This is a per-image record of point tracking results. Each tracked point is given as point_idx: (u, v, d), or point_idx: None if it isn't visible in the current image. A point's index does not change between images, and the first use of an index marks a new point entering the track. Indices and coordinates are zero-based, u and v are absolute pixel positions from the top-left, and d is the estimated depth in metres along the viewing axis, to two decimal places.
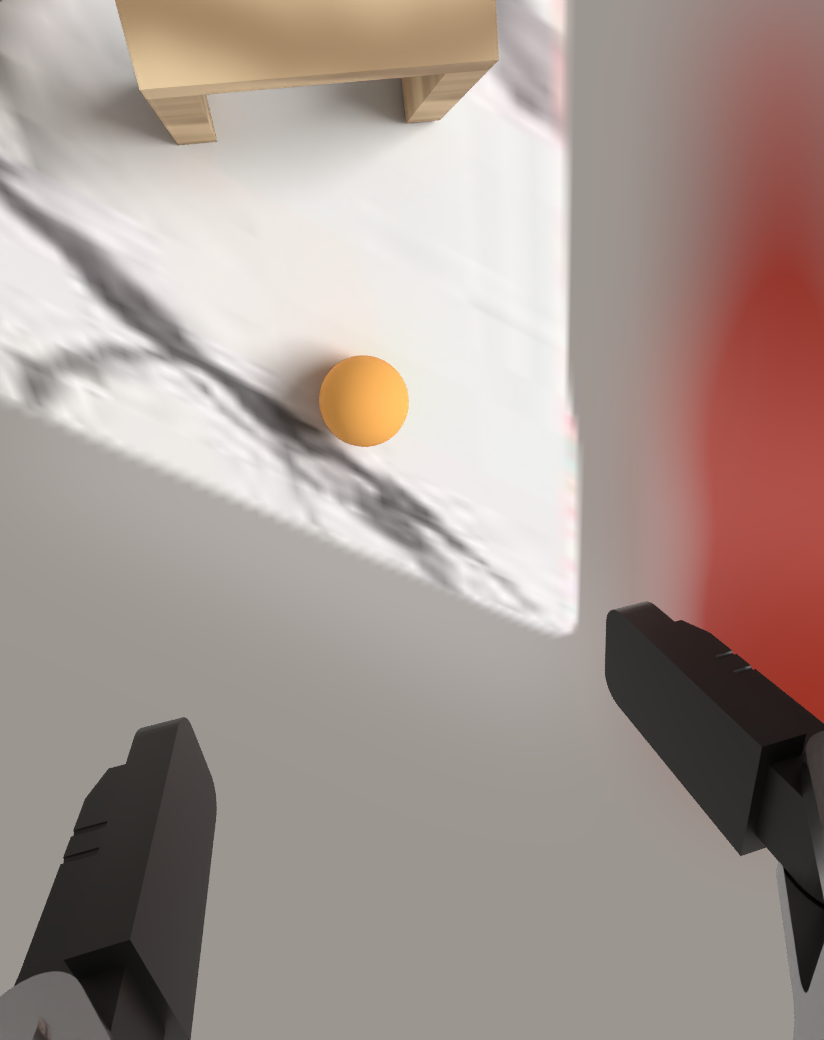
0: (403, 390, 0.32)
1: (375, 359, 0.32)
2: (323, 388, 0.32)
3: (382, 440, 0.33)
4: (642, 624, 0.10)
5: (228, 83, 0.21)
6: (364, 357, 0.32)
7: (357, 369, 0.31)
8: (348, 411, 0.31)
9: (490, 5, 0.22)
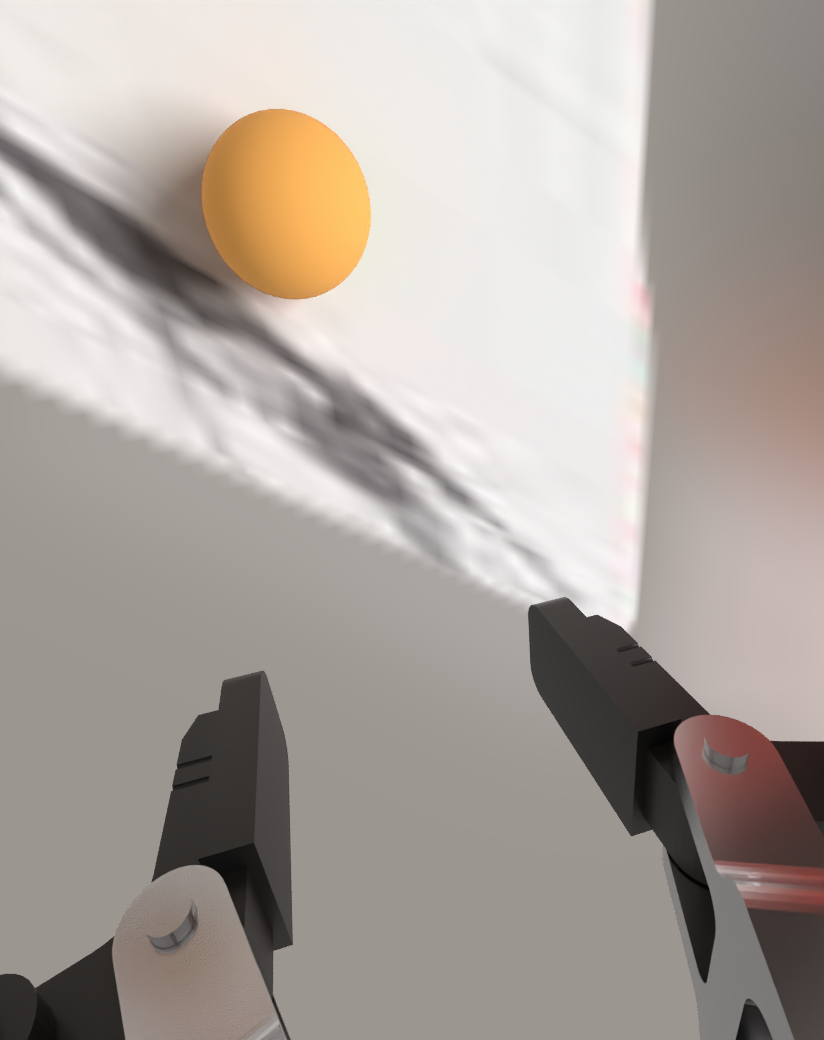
0: (358, 176, 0.17)
1: (304, 114, 0.17)
2: (204, 169, 0.17)
3: (321, 278, 0.18)
4: (555, 618, 0.10)
5: None
6: (282, 110, 0.17)
7: (265, 118, 0.16)
8: (246, 200, 0.16)
9: None
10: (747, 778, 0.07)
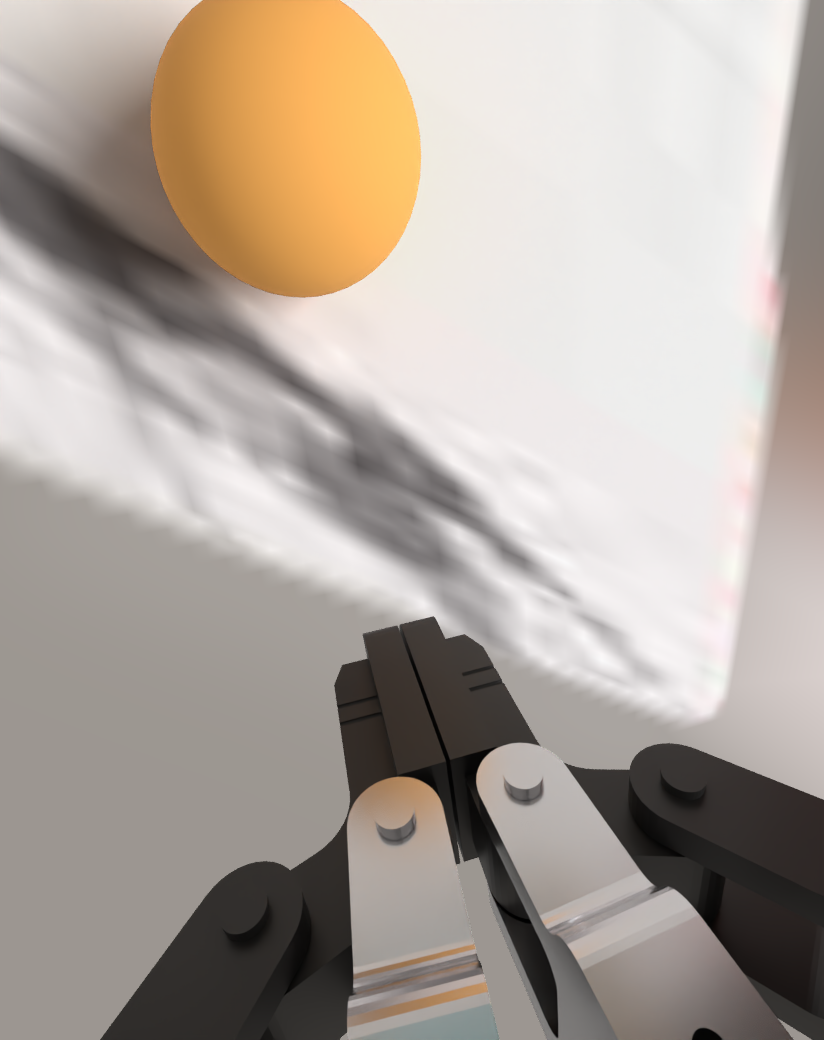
0: (406, 97, 0.10)
1: None
2: (154, 82, 0.10)
3: (344, 264, 0.11)
4: (415, 639, 0.10)
5: None
6: None
7: None
8: (220, 128, 0.09)
9: None
10: (533, 811, 0.07)
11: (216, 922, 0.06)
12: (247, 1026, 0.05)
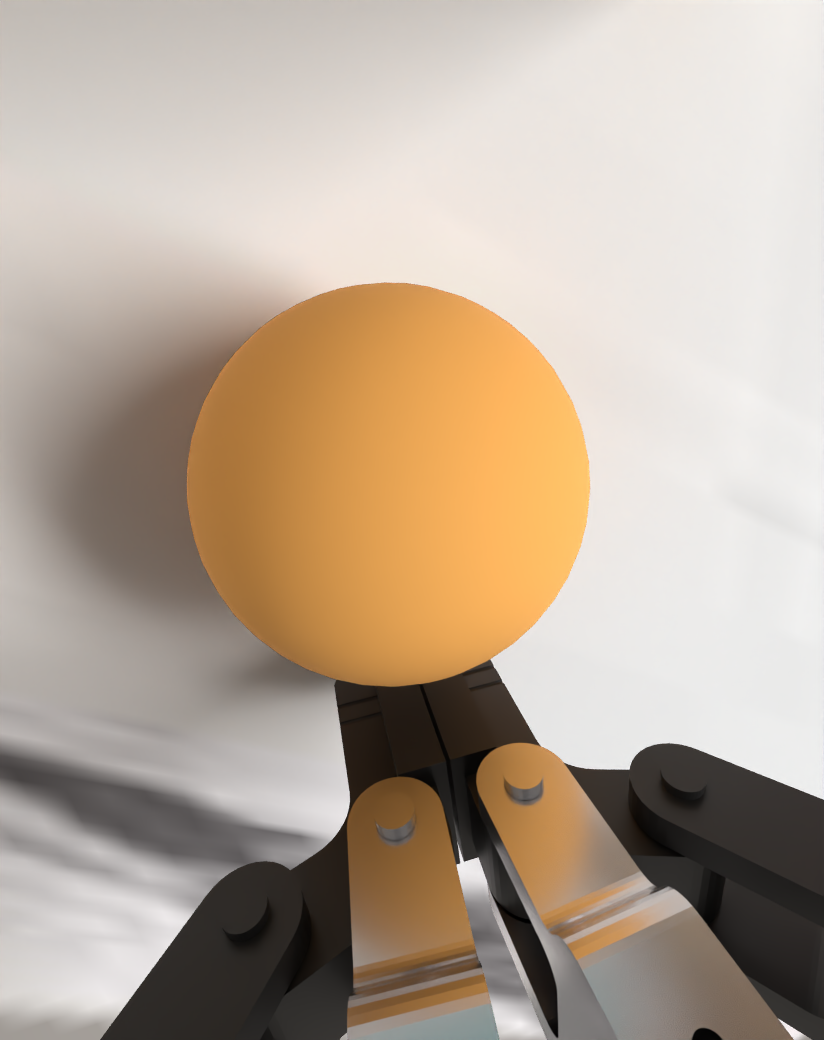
0: None
1: None
2: None
3: (408, 285, 0.07)
4: None
5: None
6: None
7: None
8: None
9: None
10: (533, 810, 0.07)
11: (216, 922, 0.06)
12: (247, 1027, 0.05)
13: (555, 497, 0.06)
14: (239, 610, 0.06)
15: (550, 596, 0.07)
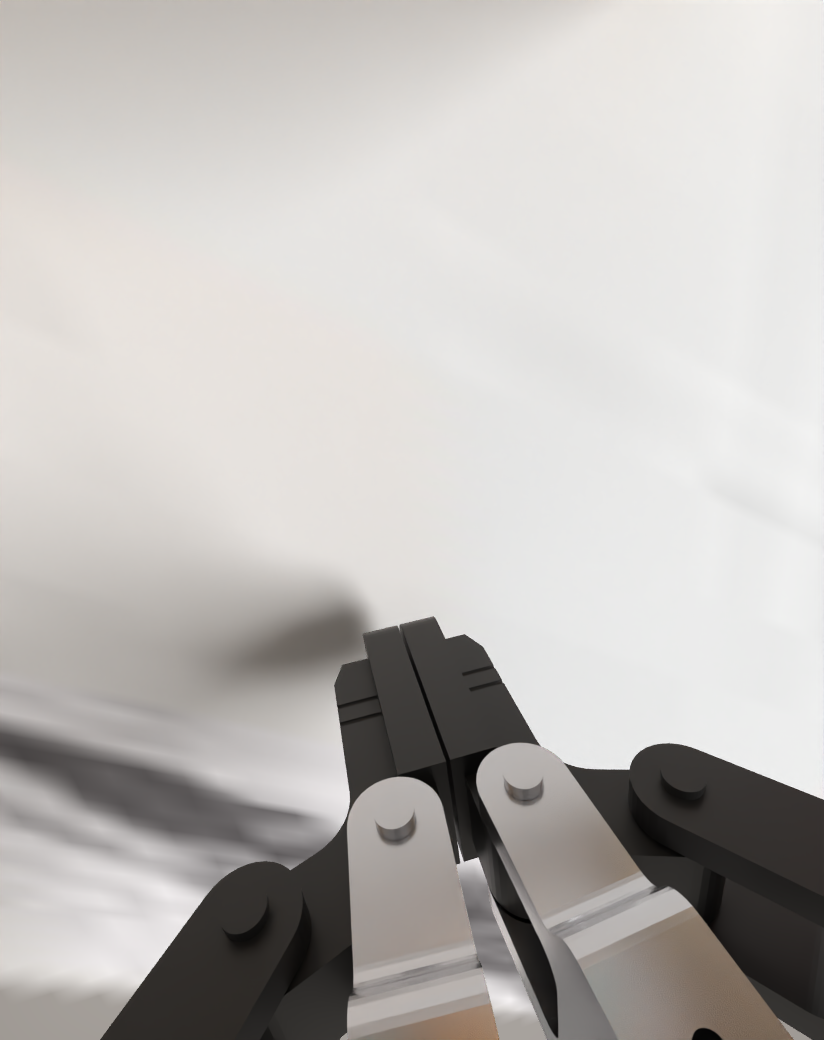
0: None
1: None
2: None
3: None
4: (415, 639, 0.10)
5: None
6: None
7: None
8: None
9: None
10: (533, 810, 0.07)
11: (216, 922, 0.06)
12: (247, 1026, 0.05)
13: None
14: None
15: None
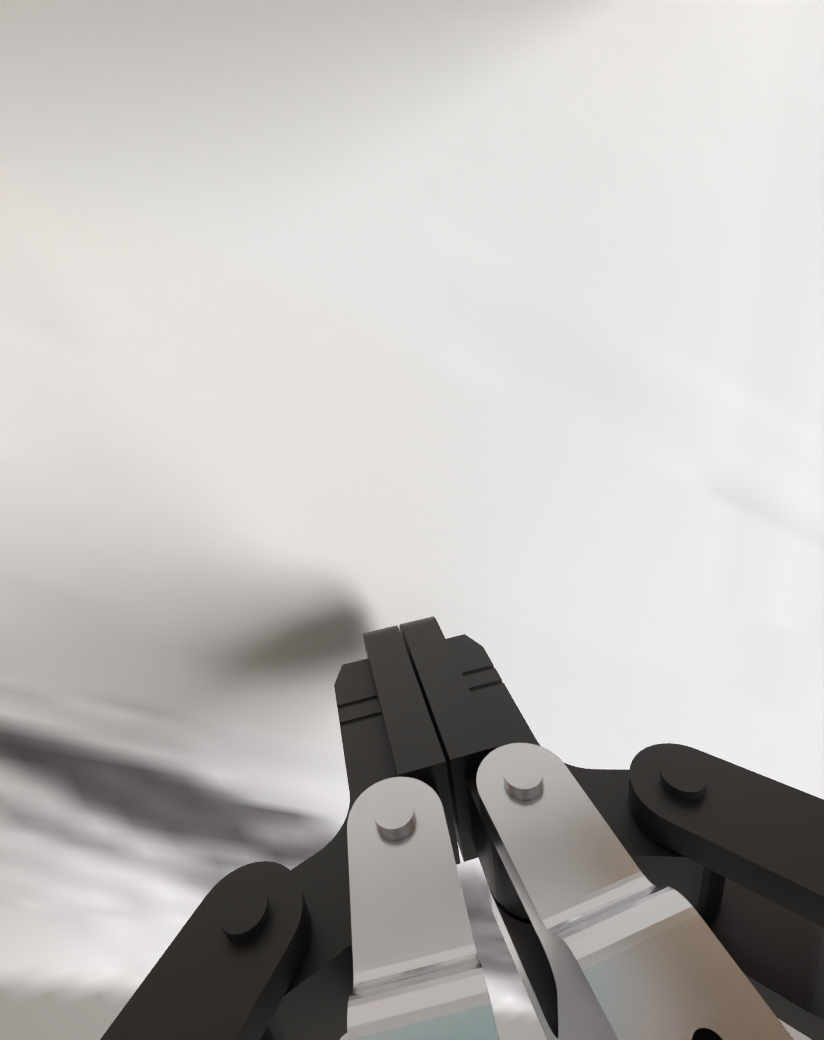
0: None
1: None
2: None
3: None
4: (415, 639, 0.10)
5: None
6: None
7: None
8: None
9: None
10: (533, 810, 0.07)
11: (216, 922, 0.06)
12: (247, 1026, 0.05)
13: None
14: None
15: None
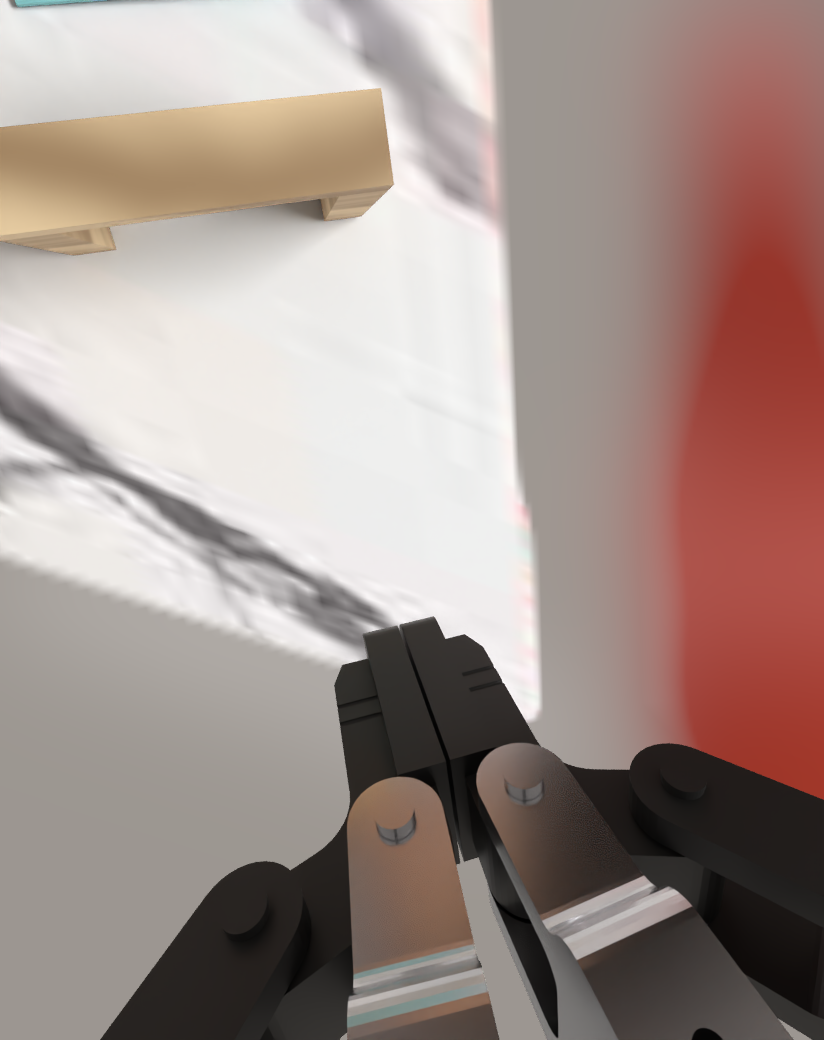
0: None
1: None
2: None
3: None
4: (415, 639, 0.10)
5: (86, 225, 0.19)
6: None
7: None
8: None
9: (379, 129, 0.20)
10: (533, 810, 0.07)
11: (216, 922, 0.06)
12: (247, 1026, 0.05)
13: None
14: None
15: None
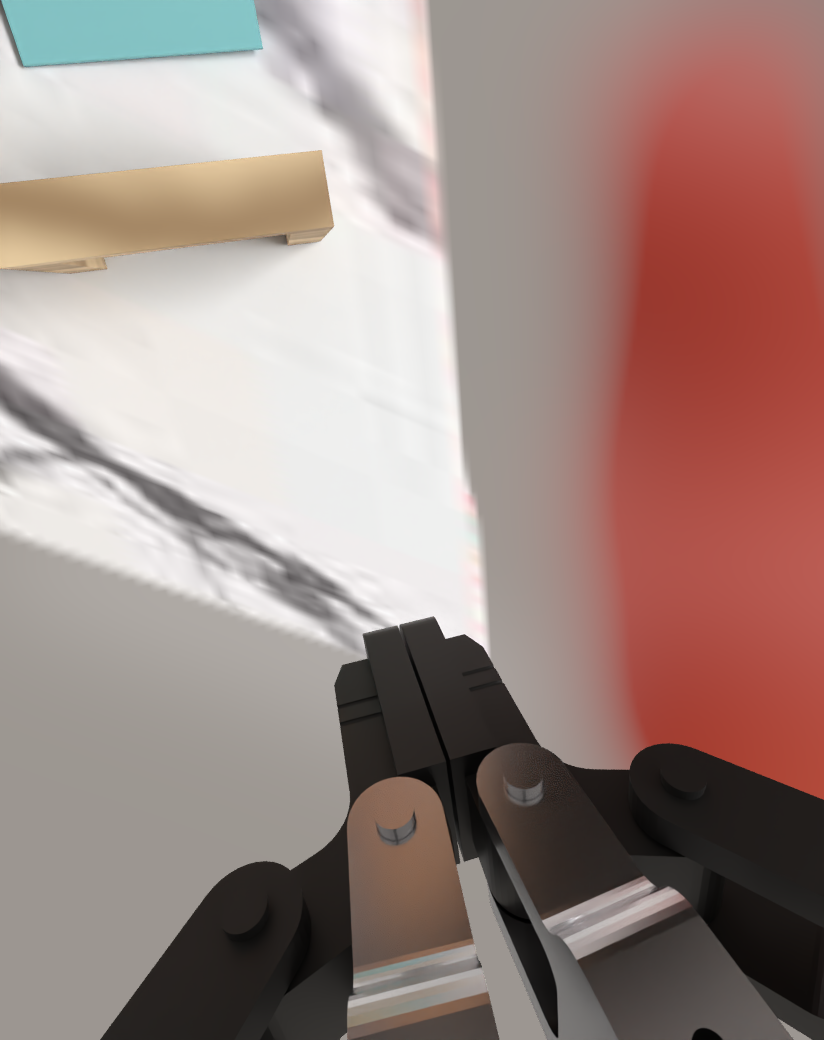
0: None
1: None
2: None
3: None
4: (415, 639, 0.10)
5: (81, 258, 0.24)
6: None
7: None
8: None
9: (321, 182, 0.25)
10: (533, 810, 0.07)
11: (216, 922, 0.06)
12: (247, 1025, 0.05)
13: None
14: None
15: None
